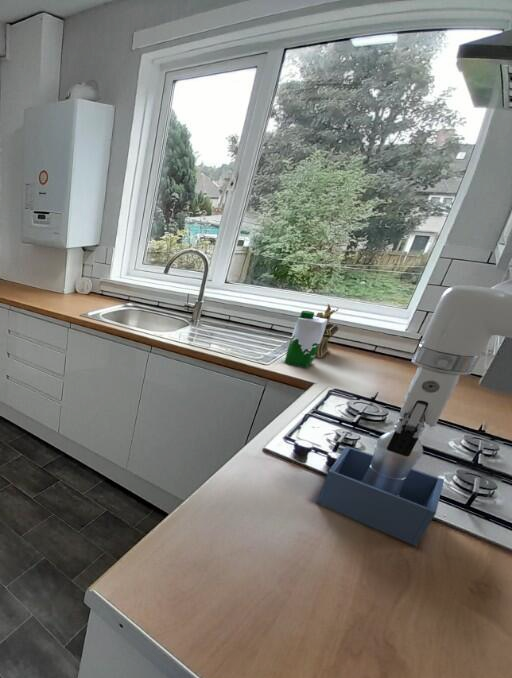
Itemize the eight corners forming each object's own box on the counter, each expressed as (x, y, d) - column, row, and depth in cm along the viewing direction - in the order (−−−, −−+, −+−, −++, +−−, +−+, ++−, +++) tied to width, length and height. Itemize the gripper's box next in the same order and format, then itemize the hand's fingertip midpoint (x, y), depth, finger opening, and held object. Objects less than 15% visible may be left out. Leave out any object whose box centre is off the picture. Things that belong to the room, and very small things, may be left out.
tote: (426, 511, 84) (444, 479, 80) (416, 546, 75) (435, 512, 71) (333, 474, 94) (346, 445, 91) (315, 502, 85) (328, 471, 82)
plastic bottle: (395, 522, 80) (442, 435, 72) (352, 509, 84) (392, 425, 75) (388, 503, 85) (431, 420, 77) (347, 492, 89) (384, 411, 80)
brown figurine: (322, 359, 163) (340, 311, 155) (294, 353, 170) (310, 306, 161) (333, 349, 176) (350, 303, 168) (306, 343, 182) (321, 299, 174)
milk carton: (288, 357, 165) (304, 309, 157) (314, 363, 159) (332, 313, 151) (281, 362, 160) (297, 312, 152) (308, 369, 154) (326, 317, 145)
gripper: (472, 378, 63) (420, 473, 71) (477, 354, 73) (432, 438, 81) (407, 364, 68) (366, 454, 76) (421, 343, 79) (383, 424, 86)
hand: (400, 445), depth 78 cm, fingers closed on plastic bottle, 6 cm apart
